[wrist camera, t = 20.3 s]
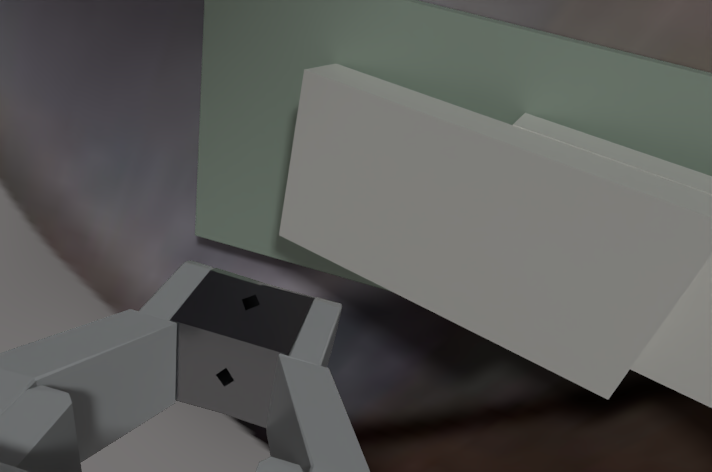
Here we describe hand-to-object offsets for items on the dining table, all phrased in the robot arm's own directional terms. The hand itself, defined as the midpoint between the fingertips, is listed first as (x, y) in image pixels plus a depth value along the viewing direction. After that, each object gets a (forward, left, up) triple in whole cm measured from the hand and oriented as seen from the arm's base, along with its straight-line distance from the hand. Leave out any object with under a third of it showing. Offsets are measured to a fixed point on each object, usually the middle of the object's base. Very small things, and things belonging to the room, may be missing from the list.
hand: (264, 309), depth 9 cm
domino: (-1, -1, -8) cm, 8 cm away
